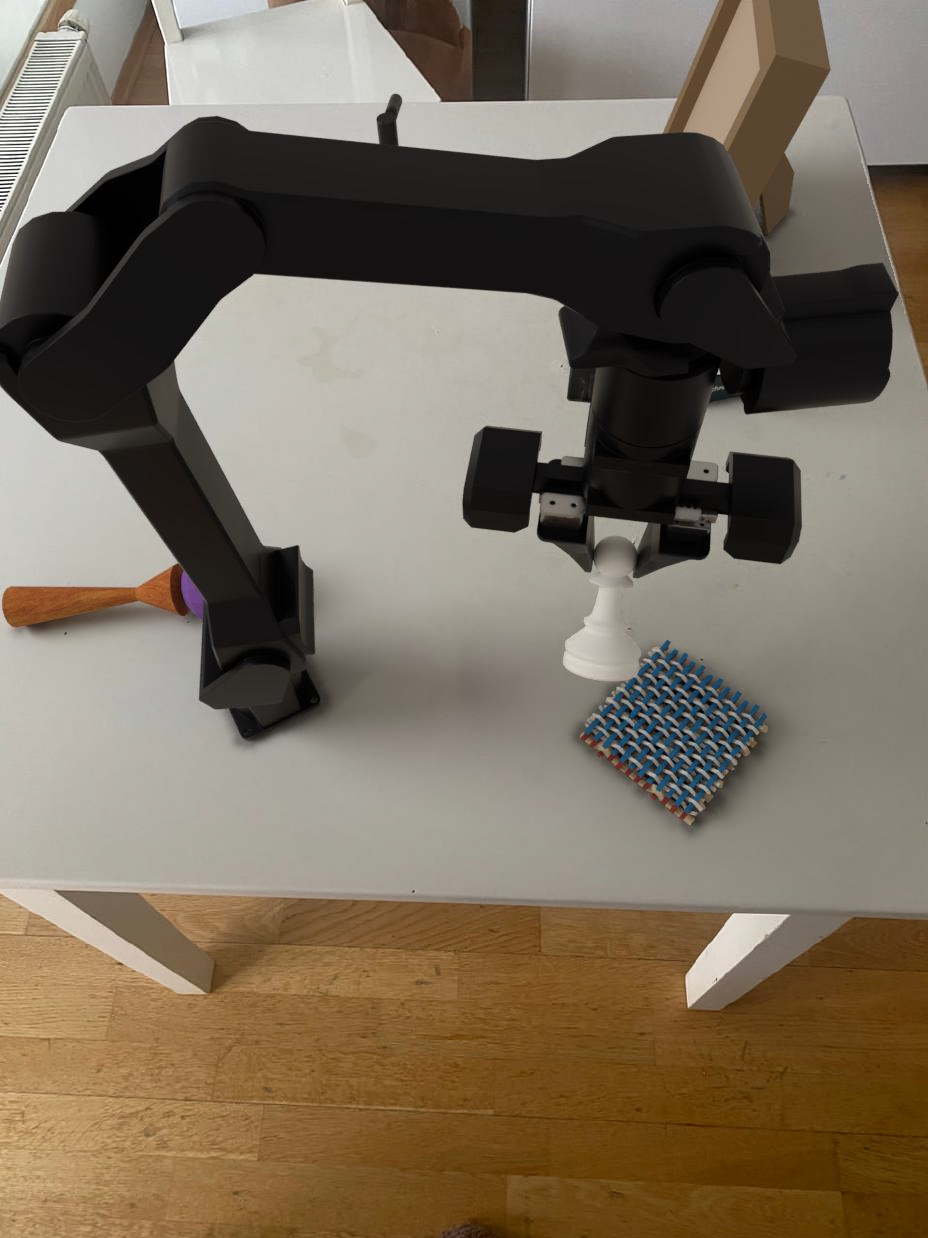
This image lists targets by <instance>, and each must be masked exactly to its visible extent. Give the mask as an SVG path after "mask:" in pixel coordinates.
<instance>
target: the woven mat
mask: <svg viewBox="0 0 928 1238" xmlns="http://www.w3.org/2000/svg"><path fill="white" fill-rule="evenodd" d="M671 643H672V642H671V641H670V640H669V639H666V640H665V642H664V643H663V644H662V645H661V646H656V645H655V646H653V647H651V651H648V652H647V654H648V656H649V657H650V658H646V657H644V658H643V659H642V661H644V662H645V664H644V663H643V662H640V663H639V671H638V674H637V675H636V676H635V677H634V678H632V679H630V680H625V681H624V682H625V683H624V682H622V683H621V684H620V686H616V687H615V688H616V689H615V690H612V692H611V695H612V696H607V697H606V698H605V704H604V705H603V706H602V705H599V706H598V707H597V708H598V709H599V710H600V713H599V714H597V713H595V712H594V713H592V714H591V716H589V717H588V718H587V719H586V723H584V726H585V727H586V729H585V730H583V731H582V733H581V734H580V736H579V739H580V740H582V741H583V742H585V743H586V744H588V745H589V747H590V748H592V749H595V750H598V752H597V754H596V756H597V757H598V758H599V759H600V758H602V757H603V756H605V758H606V760H607V761H608V762H609V763H612V764H613V765H614V769H615V770H616V771H618V772H619V771H622V772H623V774H624V775H625V776H627V777H629V778H631V780H632V781H633V782H634V783H635V784H638V785H639V786H640V787H641V789H643V790H644V791H645V792H649V793H652V794H651V795H650V799H651V800H653V801H655V800H656V799H658V800H659V801H660V804H661V805H662V806H665V807H666V808H667V809H668V812H670V813H671V814H672V815H673V814H675V815H677V817H678V818H679V819H680V820H682V821H683V822H685V823H686V824H687V825H689V826H691V825H692V824H693V823H694V821H695V819H696V818H695V817H694V816H697V815H698V814H699V813H701V812H703V811H704V810H705V809H706V806H705V804H704V802H706V803H707V804H709V803H710V802H711V800H713V798H714V797H715V795H714V794H713V793H715V792H716V791H717V789H723V786H724V782H725V781H723V780H722V779H724V777H726V775H728V773H729V770H730V771H735V767H734V766H737V765H738V759H736V757H737V758H740V757H741V755H742V756H744V757H748V756H749V755H750V754H751V751H750V748H751V749H753V748H754V747H755V746H756V745H757V743H758V742H757V741H756V740H755V737H753V735H754V734H755V735H756V736H757V735H759V734H760V733H765V734H767V733H768V731H769V727H768V726H767V725H766V724H764V721H766V719H767V718H768V715H767V714H766V713H765V712H763V713H762V714H761V715H760V716H759V717H758V719H757V720H756V719H754V716H755V715H756V714H757V713H758V711H759V709H760V708H761V706H760V705H759V704H757V703H755V704H754V705H753V707H751V709H750V710H749V712H748V713H746V712H745V710H746V709H747V707H748V705H749V704H750V702H749V700H747V699H744V700H743V701H742V703H741V704H740V705H739V706H737V705H735V704H736V703H737V702H738V701H739V699H740V697H741V696H742V694H743V693H742V692H740V691H739V690H737V691H736V692H735V693H734V695H733V696H732V697H731V698H730V699H727V698H726V697H727V696H728V695H729V694H730V693H731V691H732V688H731V687H729V686H726V687H725V688H724V689H723V690H722V691H721V690H720V687H721V685H722V684H723V682H725V680H724V679H722V678H721V677H718V679H717V680H716V682H715V683H714V684H713V685H711V684H710V683H711V681H713V678H714V675H713V674H712V673H709V674H708V675H706V676H705V677H704V678H703V679H702V680H701V679H700V678H701V676H702V675H704V673H705V672H704V671H705V670H706V668H707V667H706V666H704V664H701V665H700V667H699V668H698V669H697V670H696V671H695V673H691V671H692V670H693V669H695V667H696V664H697V663H696V662H695V661H693V660H692V661H690V662H689V663H688V664H687V665H686V666H685V667H683V665H684V664H685V663H686V661H687V660H688V657H689V653H687V652H685V651H684V652H683V654H682V655H681V656H680V657H679V659H677V661H675V660H674V659H675V658H676V657H677V656H678V655H679V650H678V649H677V648H674V649H673V650H672V651H670V652H668V650H669V649H670V647H669V646H670V645H671ZM656 663H660V664H659V665H656ZM657 678H658V679H659V680H658V681H657ZM682 682H684V683H685V684H684V685H683V684H682ZM666 685H668V686H666ZM691 688H692V689H695V690H694V691H691V690H690V689H691ZM674 691H675V692H677V693H676V694H675V693H674ZM700 694H701V695H702V697H699V696H700ZM655 696H656V697H655ZM684 698H685V699H684ZM708 702H712V703H711V705H710V704H709V703H708ZM665 703H666V704H667V705H666V704H665ZM647 706H648V707H649V708H648V707H647ZM673 709H674V710H675V711H674V710H673ZM629 710H631V712H630V711H629ZM700 711H702V712H703V713H701V712H700ZM638 716H639V717H640V718H638ZM683 717H684V718H683ZM620 719H622V720H623V721H622V722H621V720H620ZM710 719H712V721H711V720H710ZM736 720H737V722H738V723H739V724H736V723H735V722H736ZM587 722H588V723H587ZM646 723H648V724H649V725H648V724H646ZM673 725H674V726H675V727H676V728H675V727H673ZM718 725H720V726H718ZM744 728H746V729H748V732H747V733H746V731H745V730H744ZM655 730H657V731H658V732H656V731H655ZM682 732H683V733H685V735H683V733H682ZM728 733H729V734H728ZM592 734H594V736H593V735H592ZM709 736H710V738H709ZM646 739H648V740H649V742H648V741H647V740H646ZM691 739H692V740H693V741H694V742H693V741H691ZM717 743H718V744H717ZM719 744H720V745H721V746H720V745H719ZM655 746H656V747H659V748H658V749H656V748H655ZM749 747H750V748H749ZM613 748H614V749H613ZM681 750H683V751H684V752H685V753H684V752H683V751H681ZM726 750H728V751H729V752H728V751H726ZM620 753H621V757H620V756H619V754H620ZM664 753H665V754H666V755H665V754H664ZM691 757H692V758H694V760H693V759H691ZM673 761H674V762H675V763H674V762H673ZM700 764H702V766H703V767H702V766H701V765H700ZM710 772H711V773H713V774H711V773H710ZM645 775H647V776H650V777H648V778H647V777H645ZM655 782H656V783H655ZM685 783H686V784H685ZM711 791H712V792H713V793H712V792H711ZM672 798H673V799H672ZM674 799H675V800H674ZM687 804H688V805H687ZM694 808H696V810H697V811H698V812H699V813H698V812H697V811H693V810H694Z"/></svg>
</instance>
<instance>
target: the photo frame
mask: <svg viewBox="0 0 928 1238" xmlns="http://www.w3.org/2000/svg"><path fill="white" fill-rule="evenodd" d="M711 15H712V16H711V17H710V19H709V23H708V24H707V27H706V29H705V32H704V33H703V36H702V38H701V41H700V44H699V46H698V48H697V51H696V53H695V55H694V58H693V60H692V62H691V65H690V67H689V70H688V72H687V75H686V77H685V79H684V82H683V84H682V86H681V89H680V91H679V94H678V96H677V97H676V101H675V102H674V105H673V108H672V110H671V112H670V115H669V117H668V119H667V121H666V125H665V127H664V129H663V132H662V133H678V132H695V133H700V134H703V135H707V136H710V137H713V138H714V139H716V140H717V141H719V142H720V143H721V144H723V145H724V146H725V149H726V151H727V152H728V153H729V154H730V156H731V158H732V160H733V162H734V164H735V166H736V169H737V171H738V173H739V176H740V178H741V181H742V183H743V186H744V188H745V191H746V193H747V196H748V198H749V201H750V203H751V206H752V208H753V209H754V208H755V207H756V204H757V202H758V201H759V207H760V214H761V222H762V229H763V230H762V231H763V235H767V236H768V235H770V234H771V232H772V231H773V230H774V229H775V228H776V226H777V225H778V224H779V223H780V222H781V221H782V220H783V219H784V217H786V215H787V214H788V213H789V212H790V204H791V198H792V191H793V184H794V177H795V171H794V168H793V166H792V164H791V162H790V161H789V158H788V157H787V154H786V151H787V149H788V147H789V146H790V143H791V142H792V140H793V138H794V136H795V135H796V133H797V131H798V129H799V127H800V126H801V123H803V120H804V119H805V117H806V115H807V114H808V111H809V110H810V108H811V106H812V104H813V102H814V101H815V99H816V98H817V95H818V93H820V90H821V88H822V86H823V85H824V83H825V82H826V79H827V77H828V75H829V74H830V72H831V70H832V69H831V64H830V58H829V53H828V52H829V51H828V47H827V42H826V37H825V36H826V35H825V31H824V24H823V19H822V14H821V7H820V3H819V0H718V1H717V4H716V6H715V8H714V10H713V12H712V14H711Z"/></svg>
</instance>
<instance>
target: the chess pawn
mask: <svg viewBox="0 0 928 1238" xmlns="http://www.w3.org/2000/svg"><path fill="white" fill-rule="evenodd" d="M637 559H638V555H637V548H636V546H635V544H634V543H633V542H632V540H630V539H629V538H627V537H625V536H621V535H609V536H606V537H604V538H602V539H601V540H600V541H598V543H597V544H595V549H594V554H593V566H594V567H595V569H596V570H597V572H596V573H594V574H593V575H591V576H590V577H589V582H590V583H591V584H593V585H595V586H598V591H597V594H596V595H597V596H596V599H595V603H594V606H593V609H592V612H591V613H590V614H589V615H587V616H585V617H584V618H583V624H584V625H585V626H583V628H581V629H579V630H578V631H577V632H575V633H573V634H572V635H571V636H569V638H567V639H566V640H565V641H564V648H565V651H564V652H563V658H562V665H563V666H564V668H565V669H566V670H567V671H568V672H570V673H571V674H574V675H576V676H579V677H582V678H585V679H589V680H594V681H600V682H611V683H612V682H613V683H615V682H616V683H617V682H625V680H629V681H631V680H632V679H633V678H634V677H635V676H636V675H637V674H638V671H639V667H640V661H639V659H640V658H641V656H642V651H641V649H640V648H639V646H638V645H637V643H636V642H635V641H634V640H633V639H632V638H631V637H630V635H629V634H628V633H627V630H628V629H629V628H630V624H629V622H628V621H626V620H625V619H624V616H623V591H624V590H626V589H627V590H628V589H632V588H634V587H635V583H634V580H633V579H631V577H630V576H629V575H630V574H631V573H633V569H634V568H635V566H636V563H637Z"/></svg>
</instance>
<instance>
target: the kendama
mask: <svg viewBox="0 0 928 1238" xmlns="http://www.w3.org/2000/svg"><path fill="white" fill-rule="evenodd" d="M203 601H204V599H203V597H202V596H201V595H200V593H199V592H198V590H197V589H196V587H195V586H194V585H193V583H192V582H191V580H190V579H189V577H188V576H187V575H186V573H185V572H184V570H183V569H182V568H181V566H180V565H179V563H178V562H176V563H175V564H173V565H171V566H170V567H168V568H167V569H165V570H163V571H162V572H160V573H159V574H156V575H155V576H153V577H152V578H150V579H149V580H146V581H145V582H143V583H142V584H140V585H138V586H135V587H134V586H133V587H131V586H130V587H127V586H123V587H122V586H35V585H33V586H27V585H25V586H24V585H23V586H19V585H13V586H8V587H6V589H5V590H4V592H3V594H2V598H1V608H2V609H1V610H2V614H3V617H4V619H5V620H6V623H7V624H8V625H9V626H11V627H12V628H22V627H27V626H31V625H36V624H39V623H45V622H49V621H54V620H57V619H59V620H60V619H63V618H67V617H72V616H77V615H81V614H85V613H91V612H96V611H99V610H104V609H110V608H113V607H119V606H122V605H123V606H124V605H127V604H131V603H137V602H140V603H144V604H147V605H149V606H152V607H155V608H158V609H161V610H164V611H166V612H169V613H172V614H174V615H178V616H180V617H181V616H182V617H185V616H186V615H188V614H189V611H191V612H192V614H194V615H195V616H196V617H197V618H198V619H201V620H203Z"/></svg>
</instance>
